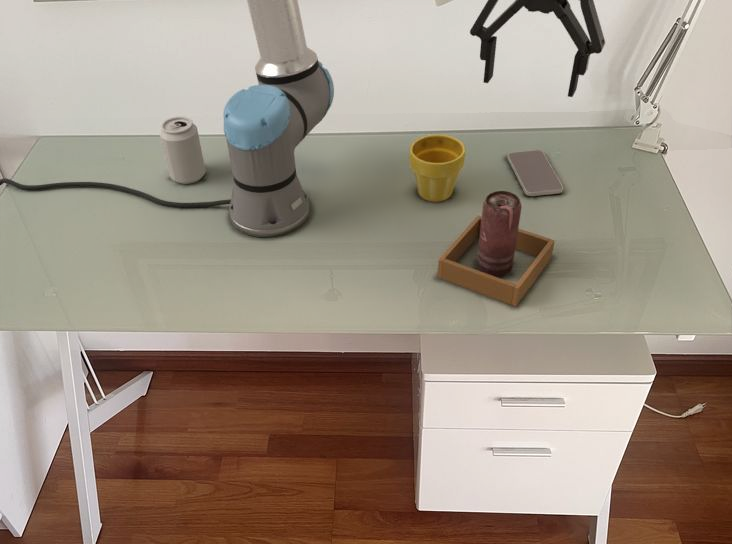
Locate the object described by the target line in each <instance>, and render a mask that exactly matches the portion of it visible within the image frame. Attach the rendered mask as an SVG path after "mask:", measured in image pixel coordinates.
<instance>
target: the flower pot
mask: <svg viewBox="0 0 732 544" xmlns="http://www.w3.org/2000/svg"><path fill="white" fill-rule="evenodd" d="M465 159H466V147H465V144H464V143H463V142H462V141H461V140H460V139H458V138H456V137H454V136H452V135H447V134H437V133H436V134H428V135H424V136H422V137H419V138H417V139H416V140H414V141H413V142H412V144H411V145H410V148H409V166H410V169H411V170H412V171H413V175H414V179H415V184H416V188H417V193H418V195H419V196H420V197H421V198H422V199H423V200H426V201H429V202H433V203H435V202H443V201H445V200H447V199H449V198H450V197H451V196H452V194H453V192H454V189H455V185H456V182H457V179H458V176H459V173H460V172H461V171H462V170H463V168H464V165H465V161H466V160H465Z"/></svg>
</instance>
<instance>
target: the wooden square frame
mask: <svg viewBox="0 0 732 544" xmlns="http://www.w3.org/2000/svg"><path fill="white" fill-rule="evenodd" d="M481 220H482V215H476V217H475V218H474V219H473V220H472V221H471V222H470V223H469V224H468V225H467V227H465V229H464V230H463V231H462V232H461V233H460V235H459V236H458V237H457V238H456V239H455V240H454V241H453V243H452V244H451V245H449V246H448V248H447V249H446V250H445V252H444V253H443V254H441V256H440V257H439V258H438V263H437V278H438V279H441V280H443V281H445V282H448V283H452V284H454V285H457V286H459V287H462V288H465V289H468V290H470V291H473V292H474V293H475V292H476V293H478V294H481V295H484V296H486V297H489V298H491V299H494V300H496V301H499V302H501V303H504V304H507V305H510V306H513V307H514V308H515V307H517V306H518V304H519V303H520V302H521V300H522V299H523V297H525V295H526V294H527V292H528V291H529V289H530V288H531V287H532V286H533V284H534V283H535V282H536V280H537V279H538V277H540V274H541V273H542V272H543V270H545V268H546V267H547V265H548V264H549V263H550V261H551V260H552V259H553V258H552V257H553V254H554V253H553V251H554V247H555V243H556V240H555V239H552V238H549V237H547V236H542V235H540V234H537V233H533V232H530V231H528V230H524V229H521V228H518V235H517V241H516V248H515V251H516V250H517V251H519V252H523V253H525V254H529V255H530V256H531V255H532V256H534V257H536V258H535V259H534V260H533V261H532V263H531V264H530V265H529V266H528V268H527V269H526V271H525V272H524V273H523V274H522V276H521V277H520V279H519V280H518V281H517V283H514V282H511V281H508V280H506V279H502V278H501V277H498V278H497V277H495V276H492V275H489V274H486V273H483V272H481V271H480V270H479V269H475V268H473V267H471V266H467V265H464V264H461V263H459V262H458V260H459V259H460V258H461V257H462V256H463V254H464V253H465V252H466V251H467V250H468V249H469V247H471V245H472V244H473V243H474V242H475V241H476V240H477V239H478V238H480V229H481Z"/></svg>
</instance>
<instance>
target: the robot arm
mask: <svg viewBox="0 0 732 544" xmlns="http://www.w3.org/2000/svg"><path fill="white" fill-rule="evenodd" d="M578 1H579V3H580V4H579V5H580V10H581V13H582V16H583V20H584V23H585V26H586V31H587V33H588V34H587V33H586V31H585V30H584V27H582V25H581V23H580V21H579V20H578V18H577V17H576V15H575V13H574V11H573V10H572V8H571V7H572V6H571V4H570V2H569V1H568V0H515V1H513V2H512V3H511V4H510V5H509V6H507V8H506V9H505V10H503V12H502V13H501V14H500V15H499V16H498V17H496V19H495V20H494V21H492V23H491V24H490V25H489V26H487V27H485V26H484V25H485V23H486V21H487V20H488V18H489V17H490V15H491V14H492V12H493V10H494V9H495V7H496V5H497V4H498V3H499V0H487V2H486V3H485V5H484V7H483V8H482V9H481V11H480V13H479V15H478V16H477V18H476V20H475V21H474V23H473V25H472V26H471V28H470V30H469V34H470V35H471V37H475V36H476V37H477V38H478V39H480V49H479V50H480V51H479V53H480V54H479V59H480V61H484V72H483V83H485V84H489V82H490V81H491V80H492V79H493V77H494V70H495V59H496V50H497V41H498V40H497V39H498V36H497V35H496V36H495V34H496V33H497V32H498V31H499V30H500V29H501V28H502V27H503V26H504V25H505V24H506V23H507V22H508V21H509V20H511V18H513V16H515V15H516V14H517V13H518V12H520V10H521V9H523V8H525V9H526V10H527V12H531V13H534V12H540V13H542V14H547V15H549V14H550V13H552V12H553V14H554V15H555V17H556V18H557V20H560V23H561V24H562V26H563V27H564V29H565V31H566V32H567V34H568V35H569V37H570V38H571V41H572V42H573V44H574V45H575V47H576V49H577V51H576V53H575V55H574V58H573V64H572V69H571V75H570V81H569V86H568V91H567V92H568V93H567V97H569V98H573V97H574V95H575V93H576V91H577V88H578V84H579V77H580V76H584V75H585V74H586V72H587V70H588V68H589V63H590V58H591V55H592V54H597V55H599V54H601V53H602V51H603V50H604V47H605V45H606V39H605V36H604V32H603V29H602V25H601V22H600V19H599V15H598V12H597V8H596V5H595V1H594V0H578ZM246 2H247V6H248V10H249V11H248V12H249V15H250V19H251V23H252V28H253V31H254V36H255V41H256V44H257V48H258V53H259V56H260V57H259V59H258V61H257V63H256V64H255V66H254V70H255V75H256V78H257V82H258V84H257V85H256V84H255V85H251V86H248V89H244V88H243V89H240V90H238V91H236V93H234V94H233V95H231V97H230V98H228V100H227V102H226V103H225V105H224V108H223V113H222V117H223V133H224V136H225V138H226V145H227V149H228V155H229V159H230V160H229V161H230V167H231V172H232V177H233V186H232V187H233V188H232V192H231V197H230V199H220V200H214V201H202V202H201V201H199V202H198V201H197V202H176V201H167V200H163V199H160V198H157V197H155V196H152V195H151V194H148V193H146V192H143V191H141V190H137V189H135V188H130V187H127V186H122V185H119V184H115V183H109V182H108V183H107V182H99V181H98V182H97V181H65V182H53V183H45V184H31V185H30V184H29V185H28V184H22V183H19V182H17V181H15V180H12V179H9V178H0V186H2V185H3V184H8V185H10V186H13V187H15V188H17V189H21V190H27V191H36V190H37V191H38V190H47V189H54V188H55V189H56V188H68V187H69V188H71V187H91V188H92V187H94V188H105V189H111V190H117V191H121V192H125V193H128V194H130V195H131V194H132V195H134V196H139V197H142V198H143V199H146V200H147V201H150V202H152V203H155V204H157V205H161V206H166V207H172V208H207V207H208V208H209V207H217V206H224V205H225V206H226V205H229V216H230V221H231V223H232V225H233V226H234V228H236V229H237V230H238V231H239V232H241V233H243V234H246V235H248V236H253V237H258V238H272V237H278V236H283V235H286V234H288V233H291V232H293V231H295V230H297V229H298V228H300V227H301V226H303V224H304V223H306V221H307V220H308V218H309V216H310V201H309V198H308V195H307V193H306V191H305V190H304V189H303V185H302V183H301V181H300V179H299V177H298V175H297V167H296V157H295V149H296V148H297V147H298V146H299V145H300V143H302V141H303V140H304V139H305V138H306V137H307V136H308V135H309V133H311V131H313V129H314V128H315V127H316V126H317V125H318V124H320V123H321V122H322V121H323V119H324V118H325V117H326V115H327V114H328V112H329V110H330V108H331V107H332V105H333V101H334V97H335V85H334V81H333V78H332V76H331V73H330V71H329V70H328V69H327V68H325V67H324V66H323V63H322V62H321V61H319V58H318V55H317V53H316V52H315V51H314V50H312V49H311V48H309V47H308V45H307V41H306V36H305V30H304V26H303V21H302V16H301V10H300V5H299V0H246Z"/></svg>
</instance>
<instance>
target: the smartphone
mask: <svg viewBox="0 0 732 544" xmlns="http://www.w3.org/2000/svg"><path fill="white" fill-rule="evenodd" d="M507 161H508V162H509V163H508V164H509V165H510V167H511V169H512V170H513V173H514V174H515V177H516V178H517V181H518V182H519V184H520V187H521V188H522V190H523V193H524V194H525V195H526V196H529V197H537V196H546V195H556V194H561V193H562V192H563V191H564V186H563V184H562V182H561V180H560V178H559V177H558V176H557V174H556V172H555V170H554V168H553V167H552V165H551V163H550V162H549V159H548V158H547V156H546V155H545V152H544V151H543V150H540V149H531V150H522V151H511V152H508V154H507Z"/></svg>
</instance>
